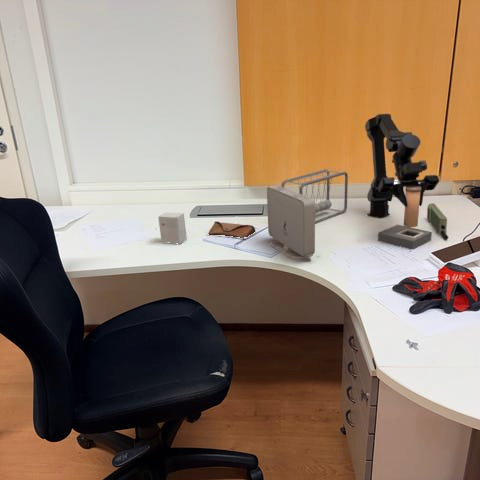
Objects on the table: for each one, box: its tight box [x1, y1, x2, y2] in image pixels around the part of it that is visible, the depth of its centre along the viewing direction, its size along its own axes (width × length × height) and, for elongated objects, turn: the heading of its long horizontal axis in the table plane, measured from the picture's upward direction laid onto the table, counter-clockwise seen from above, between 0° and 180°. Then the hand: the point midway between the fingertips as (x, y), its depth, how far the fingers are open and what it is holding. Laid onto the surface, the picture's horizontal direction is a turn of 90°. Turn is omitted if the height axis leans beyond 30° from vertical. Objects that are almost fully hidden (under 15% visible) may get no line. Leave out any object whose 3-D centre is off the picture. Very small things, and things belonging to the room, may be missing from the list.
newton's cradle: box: [280, 169, 349, 225], centre depth 182 cm, size 30×10×18 cm, turn 132°
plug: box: [403, 186, 421, 228], centre depth 147 cm, size 5×5×13 cm
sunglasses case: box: [207, 221, 256, 238], centre depth 171 cm, size 18×7×7 cm
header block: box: [377, 224, 433, 250], centre depth 153 cm, size 13×12×4 cm
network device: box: [266, 185, 316, 260], centre depth 149 cm, size 26×9×20 cm, turn 23°
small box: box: [157, 212, 188, 245], centre depth 165 cm, size 8×6×10 cm
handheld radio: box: [426, 203, 449, 240], centre depth 162 cm, size 7×3×25 cm
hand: (413, 205), depth 146 cm, fingers closed on plug, 4 cm apart
